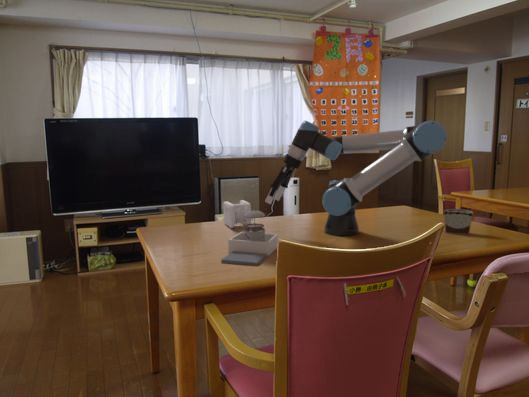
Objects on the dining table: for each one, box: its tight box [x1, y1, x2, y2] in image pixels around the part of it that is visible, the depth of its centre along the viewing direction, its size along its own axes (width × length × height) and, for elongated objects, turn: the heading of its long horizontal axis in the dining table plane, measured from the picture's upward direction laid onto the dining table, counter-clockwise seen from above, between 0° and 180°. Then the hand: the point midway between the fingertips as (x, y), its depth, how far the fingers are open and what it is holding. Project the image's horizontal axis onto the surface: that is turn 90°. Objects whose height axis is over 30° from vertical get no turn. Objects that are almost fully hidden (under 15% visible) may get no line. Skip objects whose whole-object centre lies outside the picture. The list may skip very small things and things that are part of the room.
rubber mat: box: [220, 251, 268, 267], centre depth 149 cm, size 13×11×1 cm
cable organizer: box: [222, 199, 252, 229], centre depth 204 cm, size 15×11×12 cm
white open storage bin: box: [227, 231, 279, 257], centre depth 161 cm, size 15×13×5 cm
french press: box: [243, 184, 266, 242], centre depth 160 cm, size 10×12×25 cm
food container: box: [442, 208, 475, 236], centre depth 187 cm, size 12×6×10 cm, turn 65°
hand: (271, 201), depth 182 cm, fingers open, 13 cm apart
